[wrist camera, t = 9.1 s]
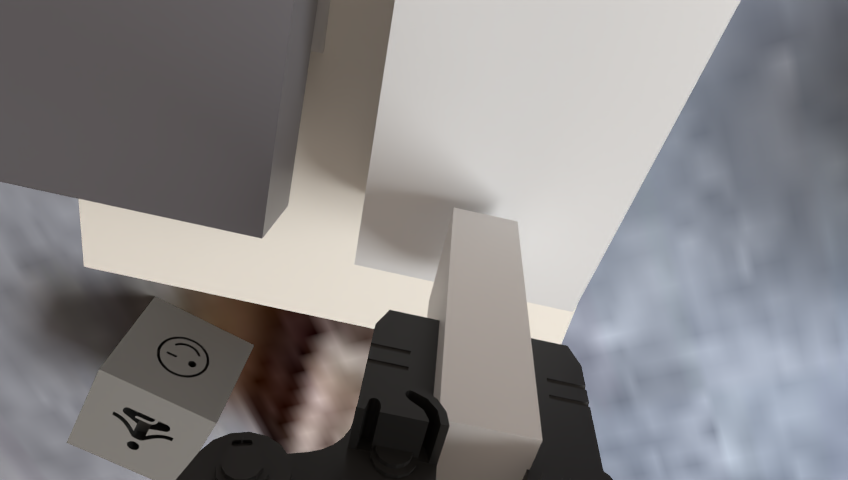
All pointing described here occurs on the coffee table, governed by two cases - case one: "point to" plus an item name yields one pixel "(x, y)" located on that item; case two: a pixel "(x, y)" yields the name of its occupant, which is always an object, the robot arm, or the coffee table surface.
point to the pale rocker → (526, 125)
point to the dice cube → (160, 392)
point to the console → (296, 204)
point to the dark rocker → (157, 104)
